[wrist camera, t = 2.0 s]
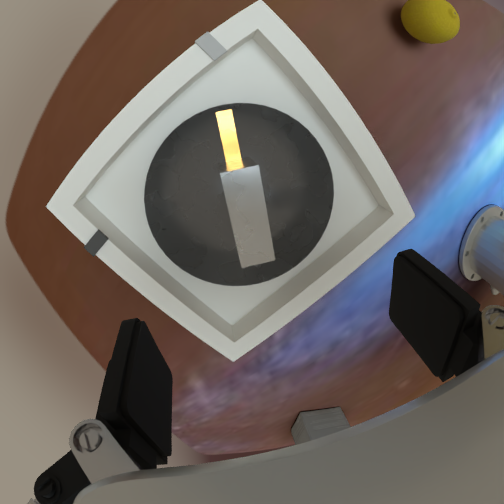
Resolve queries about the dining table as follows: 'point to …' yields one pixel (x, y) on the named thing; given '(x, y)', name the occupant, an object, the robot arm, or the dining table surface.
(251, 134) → the dial
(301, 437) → the skincare box
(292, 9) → the dining table surface
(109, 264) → the dial housing
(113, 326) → the dining table surface
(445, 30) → the lemon
